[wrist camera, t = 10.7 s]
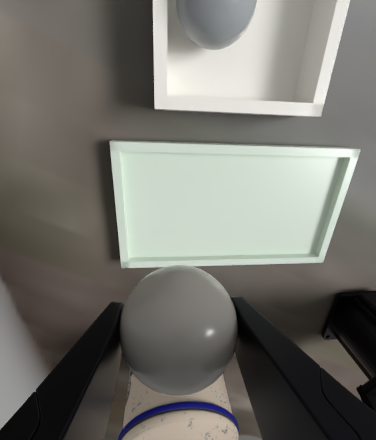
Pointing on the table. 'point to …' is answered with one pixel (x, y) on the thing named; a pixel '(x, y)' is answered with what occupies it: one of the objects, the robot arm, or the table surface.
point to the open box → (251, 61)
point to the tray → (226, 202)
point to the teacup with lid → (178, 414)
